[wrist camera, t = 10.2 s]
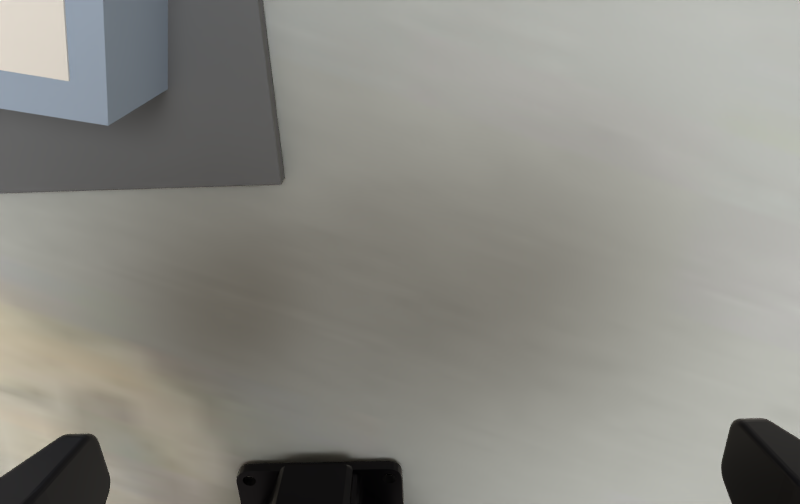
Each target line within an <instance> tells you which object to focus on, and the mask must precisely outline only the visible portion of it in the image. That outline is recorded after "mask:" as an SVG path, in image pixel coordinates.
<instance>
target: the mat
mask: <svg viewBox="0 0 800 504" xmlns="http://www.w3.org/2000/svg"><path fill="white" fill-rule="evenodd" d="M284 178H285V177H284V169H283V161H282V153H281V145H280V137H279V129H278V121H277V113H276V105H275V97H274V89H273V81H272V73H271V65H270V57H269V49H268V41H267V33H266V25H265V17H264V9H263V1H262V0H168V89H167V90H166V91H164V92H162V93H161V94H159V95H157V96H156V97H154V98H153V99H151V100H149V101H148V102H146V103H144V104H143V105H141V106H140V107H138V108H136V109H135V110H133V111H131V112H130V113H128V114H127V115H125V116H123V117H122V118H120V119H118V120H117V121H115V122H114V123H112V124H110V125H109V126H106V125H100V124H94V123H88V122H81V121H75V120H69V119H63V118H56V117H50V116H44V115H38V114H32V113H25V112H19V111H13V110H7V109H0V193H23V192H54V191H86V190H118V189H150V188H181V187H213V186H245V185H277V184H282V182H283V180H284Z"/></svg>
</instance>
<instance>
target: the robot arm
mask: <svg viewBox="0 0 800 504" xmlns="http://www.w3.org/2000/svg"><path fill="white" fill-rule="evenodd" d="M721 471H722V477H723V481H724V484H725V486H726V489H727V492H728V494H729V497H730V500H731V503H732V504H800V439H798V438H797V437H795V436H794V435H792V434H790V433H789V432H787V431H785V430H784V429H782V428H781V427H779V426H777V425H776V424H774V423H773V422H771V421H769V420H767V419H763V418H748V419H737V420H735V421H733V423H732V424H731V427H730V430H729V434H728V438H727V442H726V446H725V450H724V454H723V458H722V464H721ZM386 474H393V475H390V476H389V475H386ZM247 476H251V477H253V478H249V477H247ZM237 485H238V490H239V495H240V500H241V504H404V500H403V480H402V469H401V467H400V465H399V464H397V463H395V462H391V461H376V462H323V463H270V464H246V465H244V466H242V467H241V468H240V470H239V472H238V476H237ZM109 489H110V476H109V472H108V469H107V466H106V463H105V460H104V457H103V454H102V451H101V448H100V445H99V442H98V440H97V438H96V437H95V436H94V435H92V434H67V435H63V436H61V437H59V438H58V439H56V440H55V441H53V442H52V443H50V444H49V445H47V446H46V447H44V448H43V449H42V450H40V451H39V452H37V453H36V454H34V455H33V456H31V457H30V458H28V459H27V460H25V461H24V462H22V463H21V464H19V465H18V466H16V467H15V468H14V469H12V470H11V471H9V472H8V473H6V474H5V475H3V476H2V477H0V504H105V503H106V500H107V497H108V494H109Z"/></svg>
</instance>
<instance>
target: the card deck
mask: <svg viewBox="0 0 800 504" xmlns="http://www.w3.org/2000/svg"><path fill="white" fill-rule="evenodd" d="M167 89H168V0H0V109H7V110H13V111H19V112H25V113H32V114H38V115H44V116H50V117H56V118H63V119H69V120H75V121H81V122H88V123H94V124H100V125H106V126H109V125H110V124H112V123H114V122H115V121H117V120H118V119H120V118H122V117H123V116H125V115H127V114H128V113H130V112H131V111H133V110H135V109H136V108H138V107H140V106H141V105H143V104H144V103H146V102H148V101H149V100H151V99H153V98H154V97H156V96H157V95H159V94H161V93H162V92H164V91H166V90H167Z"/></svg>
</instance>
